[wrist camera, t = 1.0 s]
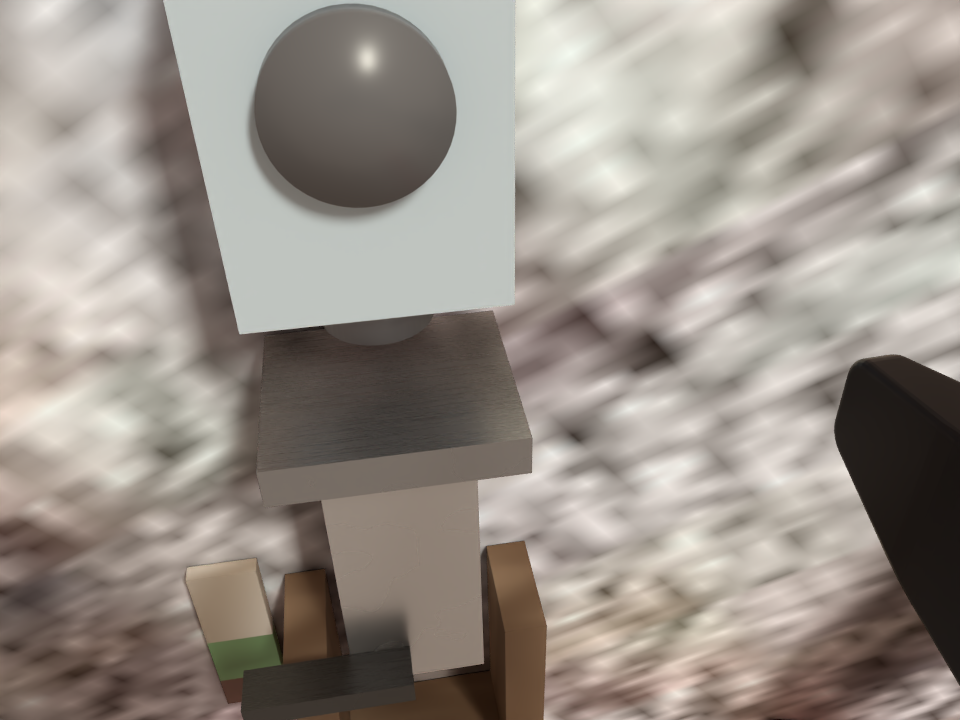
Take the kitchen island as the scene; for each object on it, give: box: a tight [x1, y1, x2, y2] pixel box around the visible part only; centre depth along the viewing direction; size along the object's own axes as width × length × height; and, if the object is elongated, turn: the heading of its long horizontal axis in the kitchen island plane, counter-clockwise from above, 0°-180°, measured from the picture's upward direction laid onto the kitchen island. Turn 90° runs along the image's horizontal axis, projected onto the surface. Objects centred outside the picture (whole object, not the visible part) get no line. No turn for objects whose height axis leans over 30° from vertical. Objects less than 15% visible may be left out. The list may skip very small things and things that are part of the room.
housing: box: [185, 541, 547, 720], centre depth 27 cm, size 10×9×6 cm
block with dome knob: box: [163, 0, 515, 346], centre depth 16 cm, size 5×8×6 cm, turn 1°
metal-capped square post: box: [241, 311, 532, 720], centre depth 22 cm, size 7×10×5 cm
